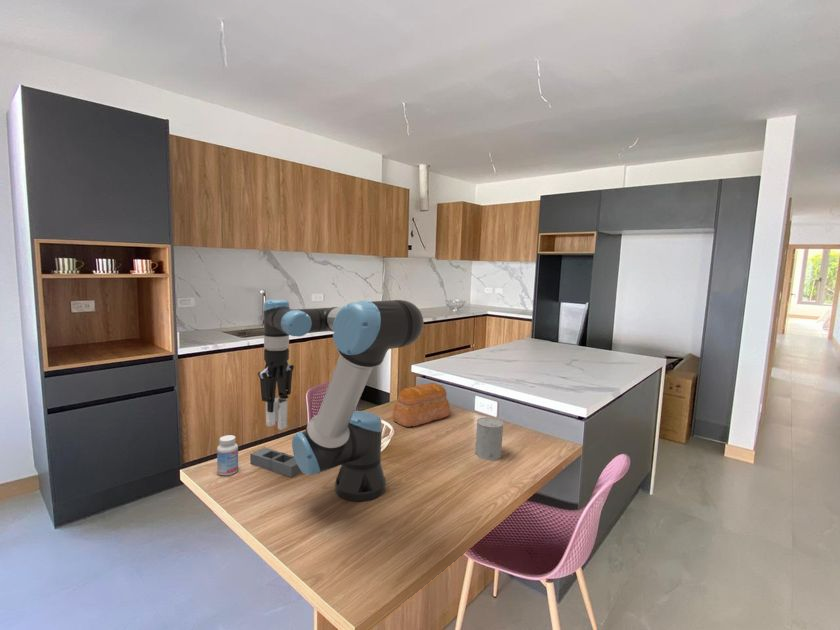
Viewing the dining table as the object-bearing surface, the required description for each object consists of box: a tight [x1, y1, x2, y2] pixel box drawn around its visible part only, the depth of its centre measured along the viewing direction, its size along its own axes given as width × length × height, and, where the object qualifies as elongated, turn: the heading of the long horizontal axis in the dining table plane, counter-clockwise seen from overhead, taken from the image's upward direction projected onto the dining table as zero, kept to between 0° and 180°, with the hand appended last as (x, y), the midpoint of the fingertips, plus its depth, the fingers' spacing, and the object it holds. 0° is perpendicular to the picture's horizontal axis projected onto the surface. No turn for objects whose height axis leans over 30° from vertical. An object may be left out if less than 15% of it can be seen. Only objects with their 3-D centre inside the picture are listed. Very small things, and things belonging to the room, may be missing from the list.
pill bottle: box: [216, 434, 239, 476], centre depth 134 cm, size 6×6×11 cm
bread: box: [392, 382, 451, 428], centre depth 187 cm, size 14×26×15 cm, turn 131°
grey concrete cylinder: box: [474, 416, 504, 461], centre depth 154 cm, size 10×10×12 cm
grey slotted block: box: [249, 446, 303, 478], centre depth 139 cm, size 18×6×4 cm, turn 63°
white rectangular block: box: [265, 397, 288, 431], centre depth 137 cm, size 7×3×9 cm, turn 64°
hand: (276, 419), depth 137 cm, fingers closed on white rectangular block, 3 cm apart
